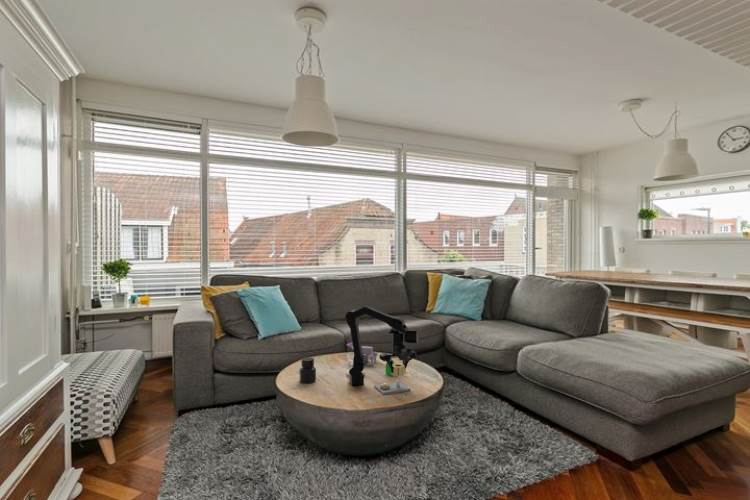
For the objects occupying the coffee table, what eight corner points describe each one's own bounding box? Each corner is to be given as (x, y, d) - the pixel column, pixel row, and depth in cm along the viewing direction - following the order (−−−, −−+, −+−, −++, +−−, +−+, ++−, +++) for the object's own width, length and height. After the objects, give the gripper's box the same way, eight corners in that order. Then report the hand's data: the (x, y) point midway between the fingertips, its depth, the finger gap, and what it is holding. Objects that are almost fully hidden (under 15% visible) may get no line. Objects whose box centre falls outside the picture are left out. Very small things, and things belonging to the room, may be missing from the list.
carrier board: (383, 394, 204) (383, 386, 204) (374, 387, 215) (374, 379, 215) (410, 390, 209) (410, 382, 209) (400, 383, 220) (400, 376, 220)
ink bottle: (307, 377, 232) (307, 355, 231) (319, 379, 227) (319, 358, 227) (295, 382, 223) (295, 359, 223) (308, 384, 219) (308, 362, 219)
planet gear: (394, 376, 209) (394, 367, 209) (389, 373, 215) (389, 364, 215) (406, 375, 212) (406, 366, 212) (401, 371, 218) (401, 363, 218)
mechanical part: (393, 377, 232) (393, 363, 232) (385, 374, 236) (385, 361, 236) (406, 372, 241) (407, 358, 241) (399, 370, 245) (399, 357, 245)
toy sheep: (342, 364, 257) (342, 342, 257) (349, 360, 267) (349, 339, 267) (372, 367, 250) (372, 345, 250) (378, 363, 260) (378, 341, 260)
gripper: (387, 347, 202) (387, 378, 202) (421, 344, 209) (421, 374, 209) (379, 342, 213) (379, 372, 213) (411, 339, 220) (411, 368, 220)
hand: (397, 372), depth 213 cm, fingers closed on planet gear, 6 cm apart
